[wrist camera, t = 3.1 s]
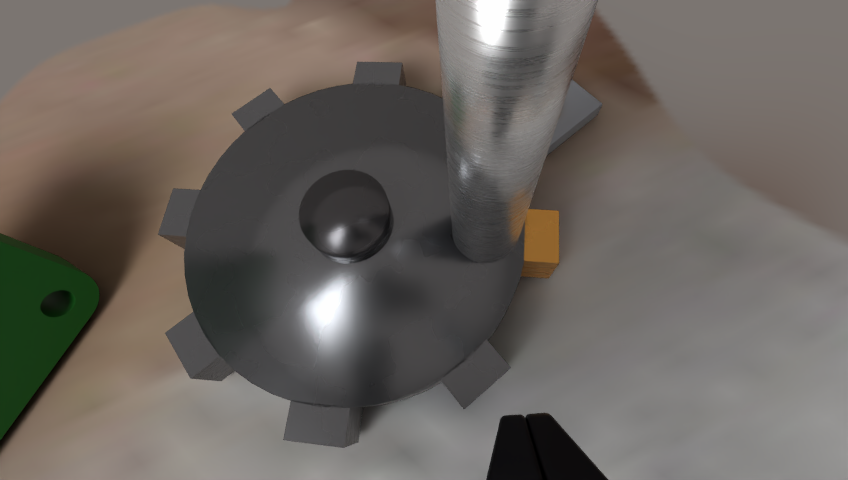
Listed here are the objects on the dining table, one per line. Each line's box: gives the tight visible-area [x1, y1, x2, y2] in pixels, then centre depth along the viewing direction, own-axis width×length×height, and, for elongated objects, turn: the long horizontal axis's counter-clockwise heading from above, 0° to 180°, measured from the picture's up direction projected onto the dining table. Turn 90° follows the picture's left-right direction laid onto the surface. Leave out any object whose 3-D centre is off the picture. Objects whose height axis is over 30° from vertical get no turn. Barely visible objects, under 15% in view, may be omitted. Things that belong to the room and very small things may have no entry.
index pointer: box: [546, 80, 602, 156], centre depth 20 cm, size 4×3×1 cm
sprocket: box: [158, 0, 598, 448], centre depth 12 cm, size 15×15×14 cm
